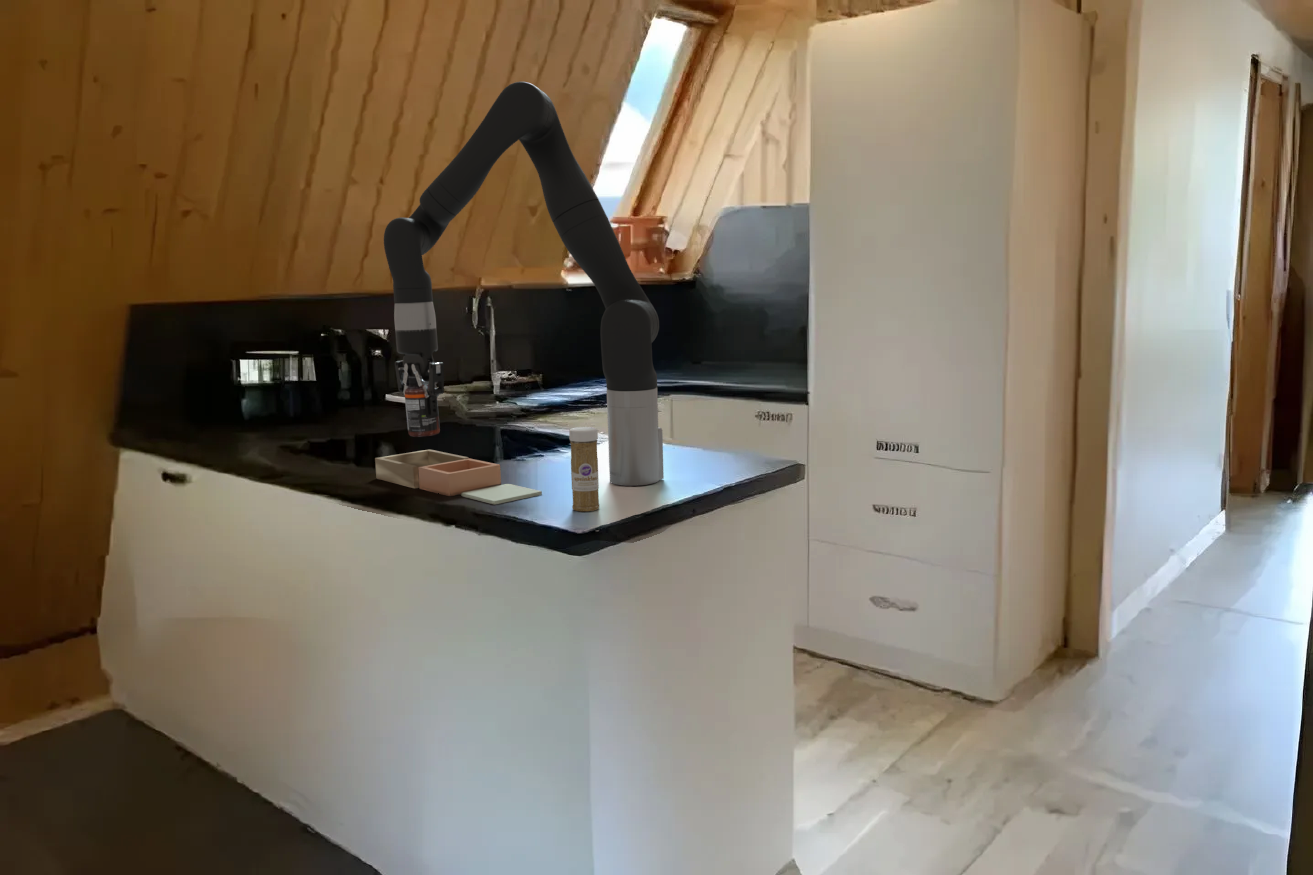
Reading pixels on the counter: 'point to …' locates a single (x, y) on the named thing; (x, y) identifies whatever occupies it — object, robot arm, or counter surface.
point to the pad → (501, 493)
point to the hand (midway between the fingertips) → (422, 415)
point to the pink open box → (459, 476)
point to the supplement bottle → (419, 412)
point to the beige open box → (410, 466)
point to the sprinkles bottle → (584, 468)
